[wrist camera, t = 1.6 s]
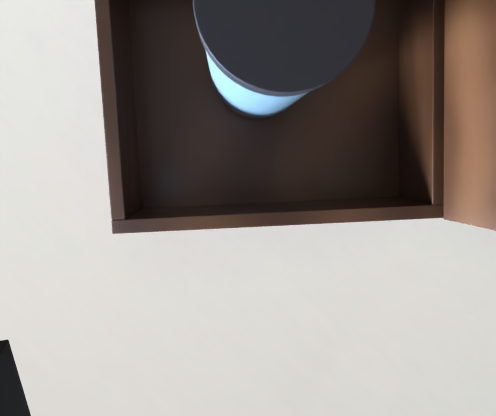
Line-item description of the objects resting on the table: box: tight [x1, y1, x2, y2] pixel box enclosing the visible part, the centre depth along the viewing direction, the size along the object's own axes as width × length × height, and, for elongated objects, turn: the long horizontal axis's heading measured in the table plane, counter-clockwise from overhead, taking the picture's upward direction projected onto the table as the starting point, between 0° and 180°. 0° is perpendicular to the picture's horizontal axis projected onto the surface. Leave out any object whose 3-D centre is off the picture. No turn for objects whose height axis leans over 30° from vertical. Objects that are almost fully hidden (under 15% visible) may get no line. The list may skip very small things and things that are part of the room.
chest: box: [95, 0, 445, 234], centre depth 30 cm, size 20×17×6 cm
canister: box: [193, 0, 376, 118], centre depth 25 cm, size 7×7×15 cm
